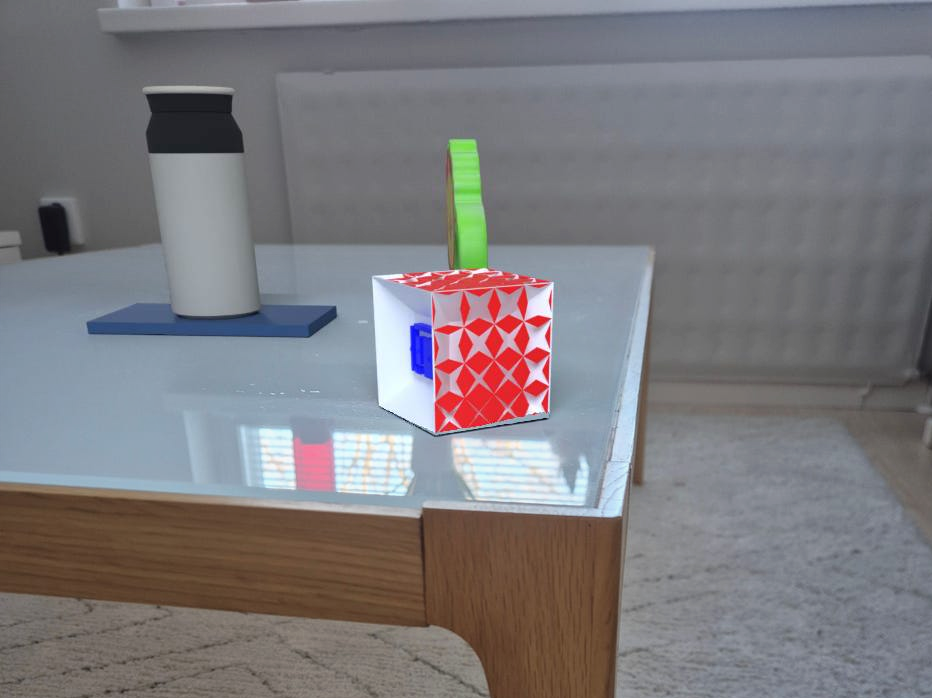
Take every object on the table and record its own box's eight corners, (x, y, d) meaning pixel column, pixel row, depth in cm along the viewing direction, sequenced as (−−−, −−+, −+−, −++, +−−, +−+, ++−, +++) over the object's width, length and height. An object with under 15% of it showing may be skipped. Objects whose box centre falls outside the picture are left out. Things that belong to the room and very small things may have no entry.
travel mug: (251, 320, 83) (225, 85, 75) (161, 320, 83) (125, 85, 75) (268, 306, 90) (246, 90, 82) (186, 306, 90) (155, 90, 82)
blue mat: (88, 333, 83) (85, 321, 83) (138, 313, 93) (136, 303, 93) (309, 337, 82) (308, 325, 81) (337, 316, 91) (336, 305, 91)
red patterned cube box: (549, 418, 58) (553, 281, 54) (435, 436, 54) (431, 291, 50) (484, 392, 64) (484, 267, 60) (378, 406, 60) (371, 275, 57)
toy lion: (509, 364, 72) (513, 139, 65) (438, 365, 71) (434, 138, 64) (488, 328, 86) (489, 139, 79) (429, 329, 85) (424, 139, 78)
